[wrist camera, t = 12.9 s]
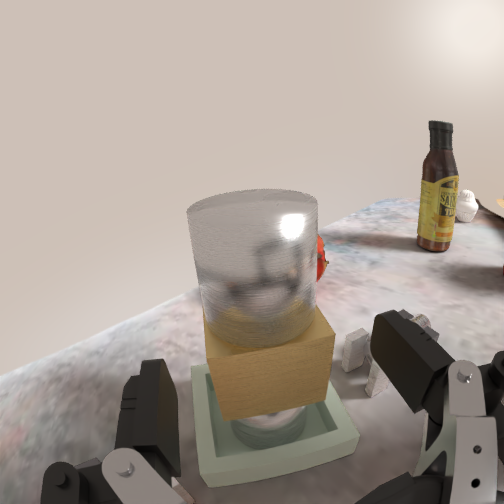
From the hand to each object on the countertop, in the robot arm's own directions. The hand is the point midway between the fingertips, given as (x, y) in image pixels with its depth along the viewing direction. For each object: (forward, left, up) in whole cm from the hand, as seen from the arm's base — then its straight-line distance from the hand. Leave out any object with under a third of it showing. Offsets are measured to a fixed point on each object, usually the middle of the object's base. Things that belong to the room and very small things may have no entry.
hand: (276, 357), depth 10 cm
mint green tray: (0, -4, -10) cm, 11 cm away
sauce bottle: (-33, -24, -10) cm, 42 cm away
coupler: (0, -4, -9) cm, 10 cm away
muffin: (-52, -32, -10) cm, 62 cm away
